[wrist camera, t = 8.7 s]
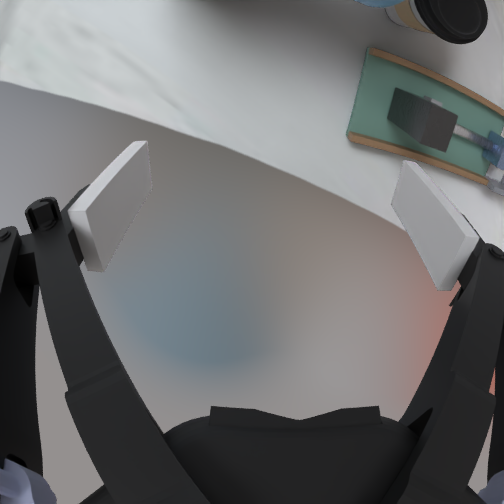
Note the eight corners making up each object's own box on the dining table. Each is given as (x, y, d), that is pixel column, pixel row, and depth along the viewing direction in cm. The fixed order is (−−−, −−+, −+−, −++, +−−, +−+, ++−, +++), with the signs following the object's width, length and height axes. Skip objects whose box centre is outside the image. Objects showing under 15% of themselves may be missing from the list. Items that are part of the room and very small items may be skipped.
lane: (367, 47, 33) (375, 48, 30) (504, 111, 35) (516, 118, 32) (345, 135, 42) (351, 142, 39) (479, 178, 44) (489, 187, 41)
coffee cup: (413, -25, 24) (470, -39, 13) (440, 30, 29) (503, 38, 18) (360, -11, 28) (405, -30, 16) (390, 46, 32) (444, 54, 21)
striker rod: (395, 87, 35) (432, 103, 26) (497, 134, 37) (538, 161, 28) (386, 118, 38) (419, 143, 29) (488, 158, 40) (526, 189, 31)
